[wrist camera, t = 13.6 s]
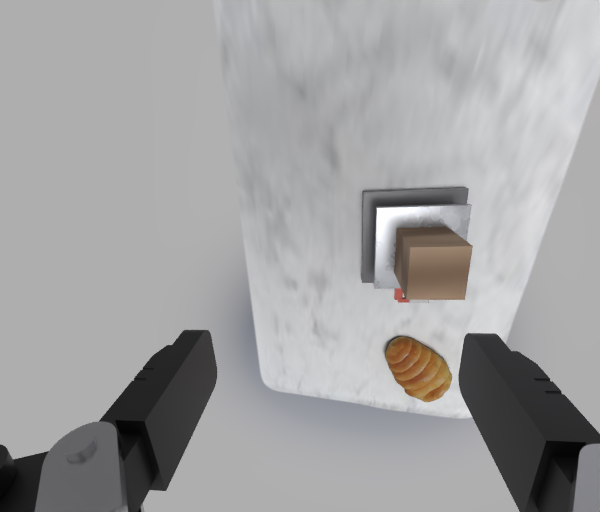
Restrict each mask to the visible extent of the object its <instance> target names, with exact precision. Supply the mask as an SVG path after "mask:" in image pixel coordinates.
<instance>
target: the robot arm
mask: <svg viewBox="0 0 600 512" xmlns="http://www.w3.org/2000/svg"><path fill="white" fill-rule="evenodd" d="M216 379H217V366H216V360H215V355H214V350H213V344H212V339H211V334H210V332H209V331H208V330H184V331H183V332H182V333H181V334H180V336H179V337H178V339H176V341H175V342H174V343H173V345H167V346H166V347H164V348H163V349H161V350H160V351H159V352H157V353H156V354H154V355H153V356H152V357H151V358H150V360H149V361H148V362H147V363H146V365H145V366H144V367H143V370H141V371H140V372H139V373H138V374H137V376H136V377H135V378H134V381H132V382H131V383H130V384H129V385H128V387H127V388H126V389H125V390H124V392H123V393H122V394H121V395H120V396H119V398H118V399H117V400H116V401H115V402H114V404H113V405H112V406H111V407H110V408H109V410H108V411H107V412H106V414H105V415H104V416H103V417H102V418H101V420H100V421H99V422H93V423H89V424H86V425H83V426H81V427H79V428H77V429H75V430H73V431H71V432H70V433H68V434H67V435H65V436H64V437H63V438H61V439H60V440H59V441H58V442H57V443H56V444H55V445H54V446H53V447H52V448H51V449H50V451H48V452H44V453H40V454H35V455H31V456H27V457H23V458H19V459H14V460H13V459H12V457H11V456H10V454H9V452H8V450H7V448H6V447H5V446H3V445H0V512H144V508H143V504H142V503H143V501H144V499H145V497H146V495H147V493H148V492H149V490H160V491H166V490H167V488H168V485H169V483H170V481H171V479H172V477H173V475H174V473H175V470H176V468H177V466H178V464H179V462H180V460H181V458H182V456H183V453H184V451H185V449H186V447H187V445H188V443H189V440H190V439H191V436H192V434H193V432H194V430H195V428H196V426H197V424H198V422H199V419H200V417H201V415H202V413H203V411H204V409H205V407H206V405H207V402H208V400H209V398H210V396H211V394H212V392H213V389H214V387H215V384H216ZM459 386H460V391H461V394H462V397H463V399H464V401H465V403H466V405H467V407H468V409H469V411H470V413H471V415H472V417H473V419H474V421H475V423H476V425H477V427H478V429H479V431H480V433H481V435H482V437H483V439H484V441H485V443H486V445H487V447H488V449H489V451H490V453H491V455H492V457H493V459H494V461H495V463H496V465H497V467H498V469H499V471H500V473H501V475H502V477H503V479H504V481H505V483H506V485H507V487H508V489H509V491H510V493H511V495H512V497H513V499H514V501H515V503H516V505H517V507H518V509H519V511H520V512H600V434H599V433H598V432H597V431H596V429H595V428H594V427H593V426H592V425H591V424H590V423H589V422H588V421H587V419H586V418H585V417H584V416H583V415H582V414H581V413H580V412H579V411H578V410H577V408H576V407H575V406H574V405H573V404H572V403H571V402H570V401H569V399H568V398H567V397H566V396H565V395H562V393H561V391H560V389H559V388H558V387H557V386H556V385H555V384H554V383H553V382H551V381H550V378H549V377H548V376H547V375H546V374H545V373H544V371H543V370H542V369H541V368H540V367H539V366H538V365H537V364H536V363H534V362H533V361H532V360H530V359H529V358H527V357H525V356H524V355H522V354H521V353H519V352H517V351H511V350H510V349H509V348H508V347H507V346H506V344H505V343H504V342H503V341H502V340H501V338H500V337H499V336H498V335H497V334H481V333H468V334H466V336H465V338H464V344H463V350H462V357H461V363H460V370H459Z"/></svg>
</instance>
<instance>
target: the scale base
mask: <svg viewBox="0 0 600 512" xmlns="http://www.w3.org/2000/svg"><path fill="white" fill-rule="evenodd" d="M468 190H469V189H468V188H466V187H459V188H433V189H407V190H381V191H363V228H362V283H374V259H375V228H376V207H379V206H409V205H440V204H467V197H468ZM408 301H409V303H429V300H408Z"/></svg>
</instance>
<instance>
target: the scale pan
mask: <svg viewBox="0 0 600 512" xmlns="http://www.w3.org/2000/svg"><path fill="white" fill-rule="evenodd" d="M470 212H471V205H470V204H440V205H409V206H379V207H376V228H375V259H374V288H375V289H386V288H395V293H394V299H395V300H398V302H409V301H408V300H406V298H402V295H403V291H402V289H401V287H400V285H399V282H398V280H397V278H396V276H395V273H394V267H395V249H396V232H397V228H417V227H449V228H450V229H451V230H453V231H454V232H455V233H456V234H458V235H459V236H460V237H462V238H463V239H464V240H465V241H466V240H467V233H468V226H469V219H470Z"/></svg>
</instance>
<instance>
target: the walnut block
mask: <svg viewBox="0 0 600 512" xmlns="http://www.w3.org/2000/svg"><path fill="white" fill-rule="evenodd" d="M472 247H473V246H472V245H470V244H469V243H468V242H467V241H465V240H464V239H463V238H462V237H460V236H459V235H458V234H456V233H455V232H454V231H453V230H451V229H450V228H449V227H417V228H397V232H396V249H395V267H394V273H395V276H396V278H397V280H398V282H399V285H400V287H401V289H402V291H403V293H404V296H405V298H406V300H465V294H466V287H467V281H468V274H469V267H470V260H471V254H472Z"/></svg>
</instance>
